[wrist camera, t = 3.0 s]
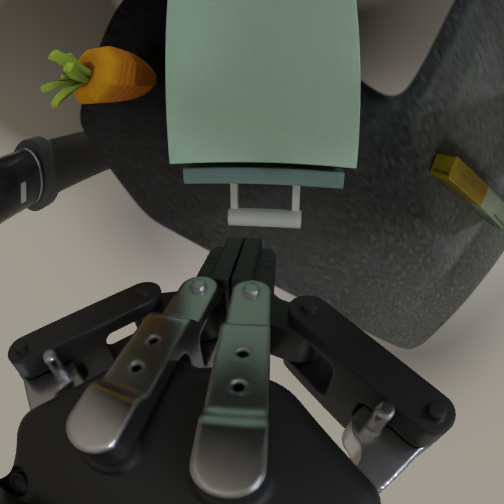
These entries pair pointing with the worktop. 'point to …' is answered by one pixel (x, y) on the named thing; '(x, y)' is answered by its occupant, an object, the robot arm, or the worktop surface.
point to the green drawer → (264, 175)
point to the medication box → (469, 188)
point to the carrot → (101, 76)
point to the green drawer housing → (263, 81)
